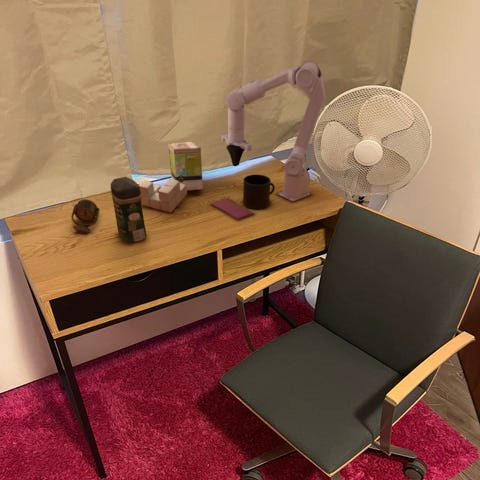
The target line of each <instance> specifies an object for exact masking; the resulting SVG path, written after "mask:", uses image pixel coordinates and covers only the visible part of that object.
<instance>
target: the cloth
mask: <svg viewBox="0 0 480 480" xmlns="http://www.w3.org/2000/svg"><path fill="white" fill-rule="evenodd" d="M210 206H212V207H214V208H216V209H217V210H219V211H221V212H222V213H224V214H226V215H228V216H230V217H232V218H233V219H234V220H237V221H241V220H243V219H245V218H249V217H251V216H254V215H255V214H254V212H252V211H250V210H249V209H247V208H244V207H243V206H241V205H240V204H237V203H236V202H233V201H231V200H230V199H228V198H224V199H221V200H218V201H215V202H213V203H211V204H210Z"/></svg>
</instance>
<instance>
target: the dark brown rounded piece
mask: <svg viewBox="0 0 480 480" xmlns="http://www.w3.org/2000/svg"><path fill="white" fill-rule="evenodd" d="M100 211H101V210H100V208H99V207H98V206H97V204H96V203H95V201H92V200H91V199H87V198H84V199H80V200H78V202H77V203H75V204H74V207H73V210H72V213H71V220H72V222H73V224H74V225H73V227H72V229H73V230H74V231H76V232H77V233H80V234H86V233H90V231H91V227H93V226H95V225H96V224H97V222H98V219H99V216H100ZM74 216H75V217H76V219H77V220H78V221H80V222H82V223H79V222H77V221H76V220H75V219H74ZM85 223H87V224H85Z"/></svg>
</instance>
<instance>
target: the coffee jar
mask: <svg viewBox="0 0 480 480" xmlns="http://www.w3.org/2000/svg"><path fill="white" fill-rule="evenodd" d="M110 194H111V199H112V203H113V209H114V216H115V221H116V228H117V234H118V236H119V237H120V239H121V240H122V241H123V242H124V243H126V244H136V243H140V242H142V241H144V240H145V239H146V238H147V231H146V223H145V217H144V210H143V205H142V203H141V191H140V187H139V183H137V181H135V180H134V179H132V178H130V177H127V176H122V177H116V178H114V179H113V180H112V181H111V183H110Z"/></svg>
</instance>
